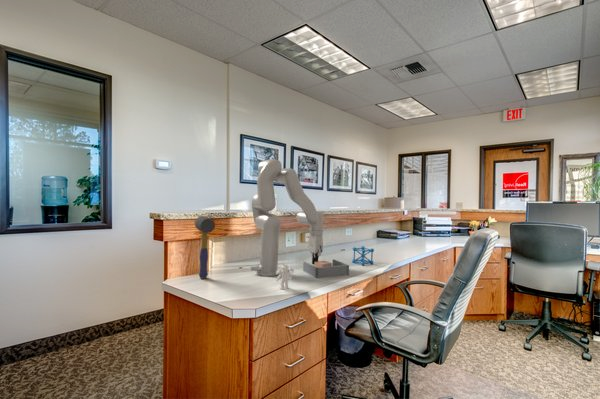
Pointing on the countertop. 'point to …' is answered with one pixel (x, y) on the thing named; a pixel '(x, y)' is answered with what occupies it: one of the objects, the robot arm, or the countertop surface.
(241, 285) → the countertop surface
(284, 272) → the flower shoulder figurine
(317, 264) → the terracotta tile
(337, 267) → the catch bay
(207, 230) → the rubber mallet
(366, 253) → the molecular structure
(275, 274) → the robot arm
